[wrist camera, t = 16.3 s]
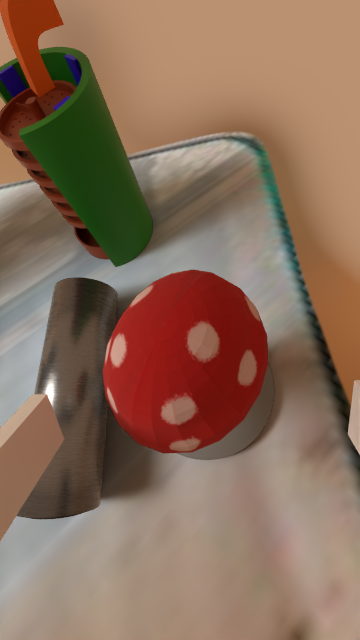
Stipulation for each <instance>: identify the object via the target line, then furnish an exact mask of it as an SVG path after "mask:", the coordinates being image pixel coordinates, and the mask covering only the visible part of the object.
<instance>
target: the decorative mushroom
mask: <svg viewBox="0 0 360 640" xmlns="http://www.w3.org/2000/svg"><path fill="white" fill-rule="evenodd" d="M267 366H268V348H267V334H266V332H265V329H264V326H263V324H262V321H261V318H260V316H259V313H258V311H257V309H256V307H255V306H254V304H253V303H252V302H251V301H250V300H249V298H248V297H247V296H246V295H245V294H244V292H243V291H242V290H241V289H240V288H239V287H237V286H235V285H233V284H232V283H230V282H228V281H226V280H225V279H223V278H221V277H219V276H217V275H215V274H214V273H211V272H204V271H198V270H188V271H182V272H176V273H171V274H169V275H167V276H165V277H163V278H161V279H159V280H157V281H155V282H153V283H152V284H151V285H149V286H148V287H147V288H146V289H144V290H143V291H142V292H141V293H140V294H138V295H137V296H136V297H135V299H134V300H133V301H132V303H131V304H130V305H129V306H128V308H127V309H126V310H125V312H124V313H123V314H122V316H121V318H120V319H119V321H118V323H117V325H116V327H115V329H114V331H113V334H112V336H111V338H110V340H109V342H108V344H107V350H106V355H105V361H104V366H103V379H104V388H105V397H106V399H107V402H108V404H109V406H110V408H111V410H112V412H113V415H114V417H115V419H116V421H117V422H118V424H119V425H120V426H121V427H122V428H123V429H124V430H125V431H126V432H127V433H128V434H129V435H130V436H131V437H132V438H133V439H134V440H135V441H136V442H137V443H138V444H141V445H143V446H146V447H148V448H151V449H154V450H156V451H159V452H161V453H190V452H194V451H197V450H199V449H201V448H204V447H206V446H209V445H211V444H213V443H216V442H218V441H220V440H221V439H223V438H224V437H225V436H226V435H227V434H228V433H229V432H231V431H232V430H233V429H234V428H235V427H236V426H237V425H239V424H240V423H241V422H242V421H243V420H244V419H245V417H246V415H247V414H248V412H249V411H250V409H251V407H252V406H253V404H254V402H255V401H256V399H257V398H258V396H259V394H260V392H261V389H262V385H263V381H264V377H265V374H266V370H267Z"/></svg>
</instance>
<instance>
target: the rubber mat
mask: <svg viewBox="0 0 360 640" xmlns="http://www.w3.org/2000/svg"><path fill="white" fill-rule="evenodd" d="M273 401H274V381H273V376H272V371H271V368H270V366H269V363H268V366H267V370H266V374H265V377H264V381H263V385H262V389H261V392H260V394H259V396H258V398H257V399H256V401H255V402H254V404H253V406H252V407H251V409H250V411H249V412H248V414H247V415H246V417H245V419H244V420H243V421H242V422H241V423H240V424H239V425H237V426H236V427H235V428H234V429H233V430H232V431H231V432H229V433H228V434H227V435H226V436H225V437H224V438H223V439H221V440H220V441H218V442H216V443H213V444H211V445H209V446H206V447H204V448H201V449H199V450H197V451H194V452H190V453H178V454H180V455H183V456H185V457H189V458H193V459H200V460H213V459H220V458H224V457H227V456H230V455H233V454H235V453H237V452H239V451H240V450H242V449H244V448H245V447H246V446H248V445H249V444H250V443H252V442H253V440H254V439H255V438H256V437H257V436H258V435H259V434H260V432H261V431H262V430H263V428H264V427H265V425H266V423H267V421H268V419H269V416H270V413H271V410H272V406H273Z"/></svg>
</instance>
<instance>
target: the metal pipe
mask: <svg viewBox="0 0 360 640" xmlns="http://www.w3.org/2000/svg"><path fill="white" fill-rule="evenodd" d="M117 300H118V294H117V292H116V291H115V289H113V288H112V287H111V286H109V285H107V284H105V283H103V282H100V281H97V280H94V279H88V278H67V279H63V280H61V281H59V282H57V283H56V285H55V287H54V292H53V298H52V303H51V308H50V314H49V319H48V324H47V330H46V335H45V340H44V346H43V351H42V356H41V362H40V367H39V372H38V378H37V383H36V388H35V394H47V395H48V397H49V400H50V402H51V405H52V408H53V410H54V413H55V416H56V418H57V421H58V423H59V426H60V429H61V431H62V434H63V437H64V441H63V442H62V444H61V446H60V447H59V449H58V450H57V452H56V454H55V455H54V457H53V458H52V460H51V461H50V463H49V465H48V466H47V468H46V469H45V471H44V473H43V474H42V476H41V477H40V479H39V480H38V482H37V484H36V485H35V487H34V488H33V490H32V492H31V493H30V495H29V496H28V498H27V500H26V501H25V503H24V504H23V506H22V507H21V509H20V511H19V512H18V514H17V515H16V516H19V517H26V518H32V519H56V518H64V517H70V516H74V515H78V514H81V513H84V512H87V511H90V510H93V509H95V508H97V507H98V506H99V505H100V498H101V486H102V474H103V463H104V451H105V439H106V428H107V416H108V402H107V399H106V397H105V388H104V379H103V366H104V361H105V355H106V350H107V344H108V342H109V340H110V338H111V336H112V334H113V331H114V329H115V323H116V311H117ZM35 394H34V395H35Z"/></svg>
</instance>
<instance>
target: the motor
mask: <svg viewBox="0 0 360 640" xmlns="http://www.w3.org/2000/svg"><path fill="white" fill-rule="evenodd" d="M0 12H1V16H2V20H3V23H4V26H5V29H6V32H7V35H8V37H9V40H10V42H11V45H12V47H13V49H14V52H15V54H16V57H17V58H16V59H14V60H12V61H10V62H8V63H6V64H5V65H3V66H1V67H0V96H1V98H2V99H3V101H4V102H5V103H6V105H5V106H4V108H3V109H2V110H1V111H0V138H1V140H2V141H3V142H4V143H5V145H6V146H8V147H9V148H11V149H12V152H13V154H14V156H15V157H16V158H17V160H18V161H19V162H20V163H21V164H22V165H23V166H24V167H25V168H27V171H28V173H29V174H30V176H31V177H32V178H33V179H34V181H35V182H36V183H37V184H39V185H40V188H41V189H42V191H43V192H44V193H45V194H46V196H47V197H48V198H49V199H51V201H52V203H53V204H54V205H55V207H56V208H57V209H58V210H59V211H60V212H61V213H62V215H63V217H64V218H65V219H66V220H67V222H68V223H70V224H71V225H72V226H74V230H75V235H76V237H77V238H78V240H79V241H80V242H81V243H82V245H83V246H84V247H85V248H86V250H87V251H88V252H89V253H90V254H91V255H93V256H95V257H97V258H100V259H110V260H111V261H112V263H113V264H114V265H115V267H117V266H120V265H123V264H125V263H127V262H129V261H131V260H132V259H134V258H135V257H136V256H137V255H139V254H140V253H141V252H142V251H143V249H144V248H145V247H146V245H147V244H148V242H149V240H150V238H151V235H152V231H153V222H152V218H151V215H150V213H149V210H148V208H147V205H146V203H145V200H144V198H143V195H142V192H141V190H140V187H139V185H138V182H137V180H136V177H135V175H134V172H133V170H132V167H131V165H130V162H129V160H128V157H127V155H126V152H125V150H124V147H123V145H122V143H121V140H120V137H119V135H118V132H117V130H116V127H115V125H114V122H113V120H112V117H111V114H110V112H109V109H108V107H107V104H106V102H105V99H104V97H103V94H102V92H101V89H100V87H99V84H98V82H97V79H96V77H95V74H94V72H93V69H92V67H91V64H90V62H89V59H88V58H87V57H86V55H84V54H83V53H82V52H80V51H79V50H76V49H73V48H67V47H52V48H46V49H41V50H39V48H38V38H39V36H40V34H41V33H43V32H44V31H46V30H49V29H51V28H55V27H58V26H60V25H63V22H62V19H61V17H60V15H59V12H58V10H57V8H56V5H55V3H54V1H53V0H0Z"/></svg>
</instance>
